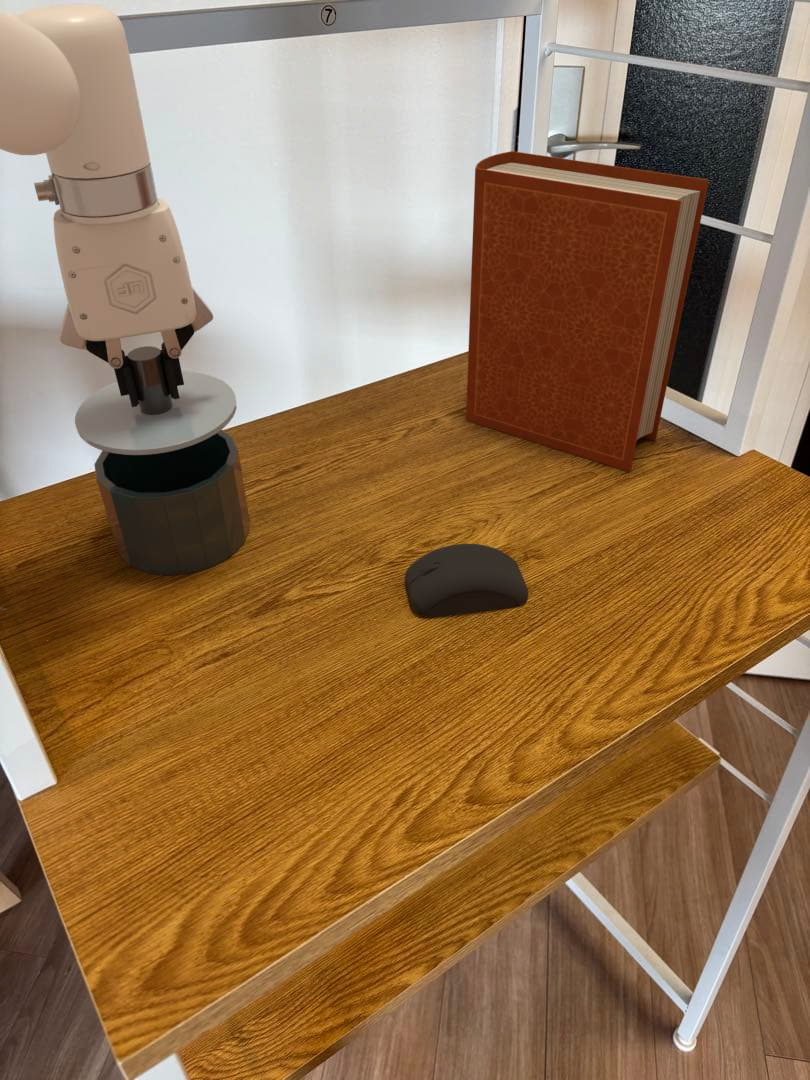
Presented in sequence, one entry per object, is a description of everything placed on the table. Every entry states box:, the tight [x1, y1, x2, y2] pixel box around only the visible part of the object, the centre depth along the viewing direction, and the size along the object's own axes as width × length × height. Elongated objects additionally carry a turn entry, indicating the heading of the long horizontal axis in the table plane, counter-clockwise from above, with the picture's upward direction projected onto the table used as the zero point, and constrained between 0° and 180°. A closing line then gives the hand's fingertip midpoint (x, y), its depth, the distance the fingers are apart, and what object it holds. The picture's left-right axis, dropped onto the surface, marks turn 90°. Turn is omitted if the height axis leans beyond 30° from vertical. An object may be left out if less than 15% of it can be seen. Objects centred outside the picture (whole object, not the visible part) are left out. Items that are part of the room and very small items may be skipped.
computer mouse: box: [404, 543, 529, 618], centre depth 79 cm, size 6×11×4 cm, turn 99°
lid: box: [74, 345, 238, 455], centre depth 77 cm, size 15×15×7 cm
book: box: [465, 150, 710, 473], centre depth 94 cm, size 23×8×30 cm, turn 56°
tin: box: [94, 429, 251, 576], centre depth 84 cm, size 14×14×10 cm
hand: (153, 394), depth 77 cm, fingers closed on lid, 3 cm apart
